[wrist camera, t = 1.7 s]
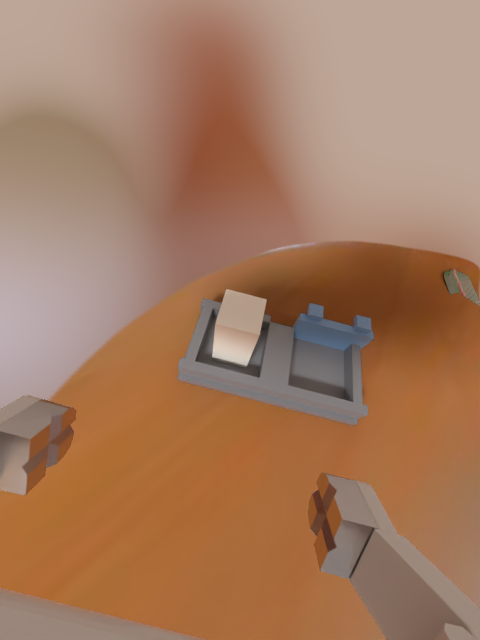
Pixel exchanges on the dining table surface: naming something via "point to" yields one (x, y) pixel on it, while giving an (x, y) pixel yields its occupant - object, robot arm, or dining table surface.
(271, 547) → the dining table surface
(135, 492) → the dining table surface
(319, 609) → the dining table surface
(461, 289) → the map
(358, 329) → the two-compartment grey tray
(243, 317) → the white rectangular block
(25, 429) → the robot arm
